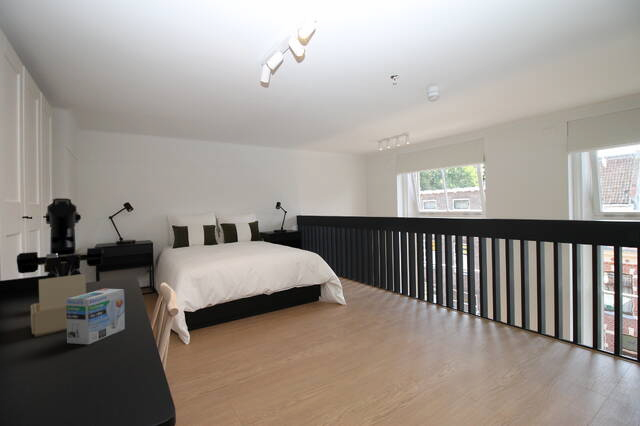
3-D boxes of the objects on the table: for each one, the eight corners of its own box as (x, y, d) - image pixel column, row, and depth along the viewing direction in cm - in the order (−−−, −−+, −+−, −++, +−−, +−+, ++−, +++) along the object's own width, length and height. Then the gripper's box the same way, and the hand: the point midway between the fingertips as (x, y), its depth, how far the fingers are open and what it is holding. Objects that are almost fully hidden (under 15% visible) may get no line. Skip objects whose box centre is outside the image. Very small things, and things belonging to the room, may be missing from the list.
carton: (30, 325, 87) (30, 304, 87) (85, 314, 95) (85, 295, 96) (32, 337, 77) (31, 313, 77) (93, 324, 86) (92, 302, 86)
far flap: (38, 279, 79) (38, 279, 79) (84, 274, 86) (85, 273, 86) (39, 311, 78) (39, 311, 78) (86, 302, 85) (86, 302, 85)
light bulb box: (88, 345, 71) (87, 299, 71) (65, 343, 73) (64, 298, 73) (126, 328, 82) (125, 288, 82) (105, 327, 83) (104, 287, 83)
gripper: (99, 255, 102) (104, 294, 93) (21, 261, 90) (18, 307, 81) (101, 232, 96) (106, 271, 87) (18, 235, 84) (14, 282, 75)
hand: (63, 283), depth 83 cm, fingers closed, pressing on far flap
